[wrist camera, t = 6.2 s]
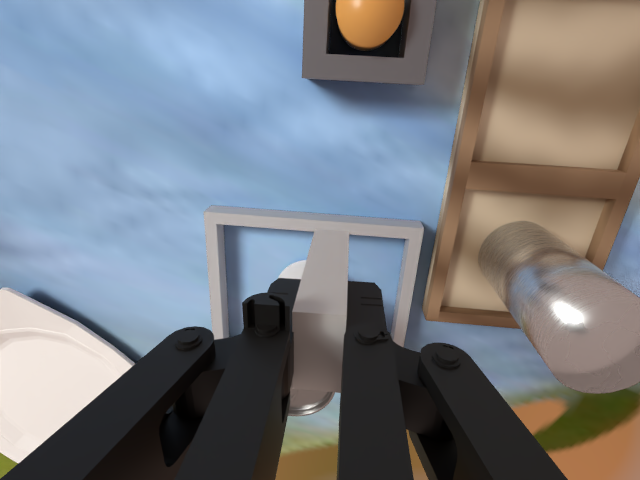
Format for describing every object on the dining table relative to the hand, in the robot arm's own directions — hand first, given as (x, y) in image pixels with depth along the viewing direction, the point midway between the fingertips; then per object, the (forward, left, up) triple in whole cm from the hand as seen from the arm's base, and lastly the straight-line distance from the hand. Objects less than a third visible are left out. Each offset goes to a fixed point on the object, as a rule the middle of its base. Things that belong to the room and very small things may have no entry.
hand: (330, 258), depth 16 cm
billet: (+5, +15, -14) cm, 21 cm away
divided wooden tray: (-1, +15, -15) cm, 21 cm away
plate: (+28, -30, -16) cm, 44 cm away
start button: (-11, +1, -15) cm, 19 cm away
